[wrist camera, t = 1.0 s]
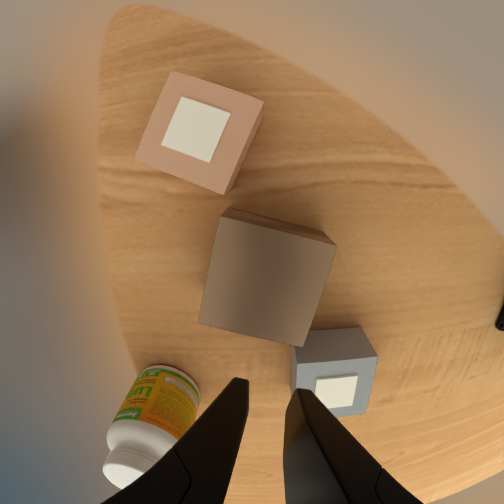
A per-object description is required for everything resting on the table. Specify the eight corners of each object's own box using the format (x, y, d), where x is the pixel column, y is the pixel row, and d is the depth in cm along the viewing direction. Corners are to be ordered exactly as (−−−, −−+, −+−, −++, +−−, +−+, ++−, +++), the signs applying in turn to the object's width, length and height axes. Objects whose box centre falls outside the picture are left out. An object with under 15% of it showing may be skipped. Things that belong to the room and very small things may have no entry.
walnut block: (322, 231, 19) (337, 246, 15) (295, 315, 20) (302, 346, 16) (228, 207, 19) (219, 216, 15) (208, 295, 20) (197, 323, 16)
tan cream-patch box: (263, 116, 17) (264, 100, 13) (231, 190, 18) (222, 195, 14) (189, 89, 17) (170, 69, 13) (158, 162, 18) (131, 160, 14)
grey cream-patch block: (360, 325, 20) (379, 358, 16) (352, 380, 22) (365, 415, 18) (291, 330, 21) (297, 365, 16) (290, 385, 22) (294, 423, 18)
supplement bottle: (160, 351, 21) (111, 445, 12) (214, 392, 22) (194, 493, 13) (126, 384, 22) (80, 468, 13) (176, 420, 23) (149, 508, 14)
